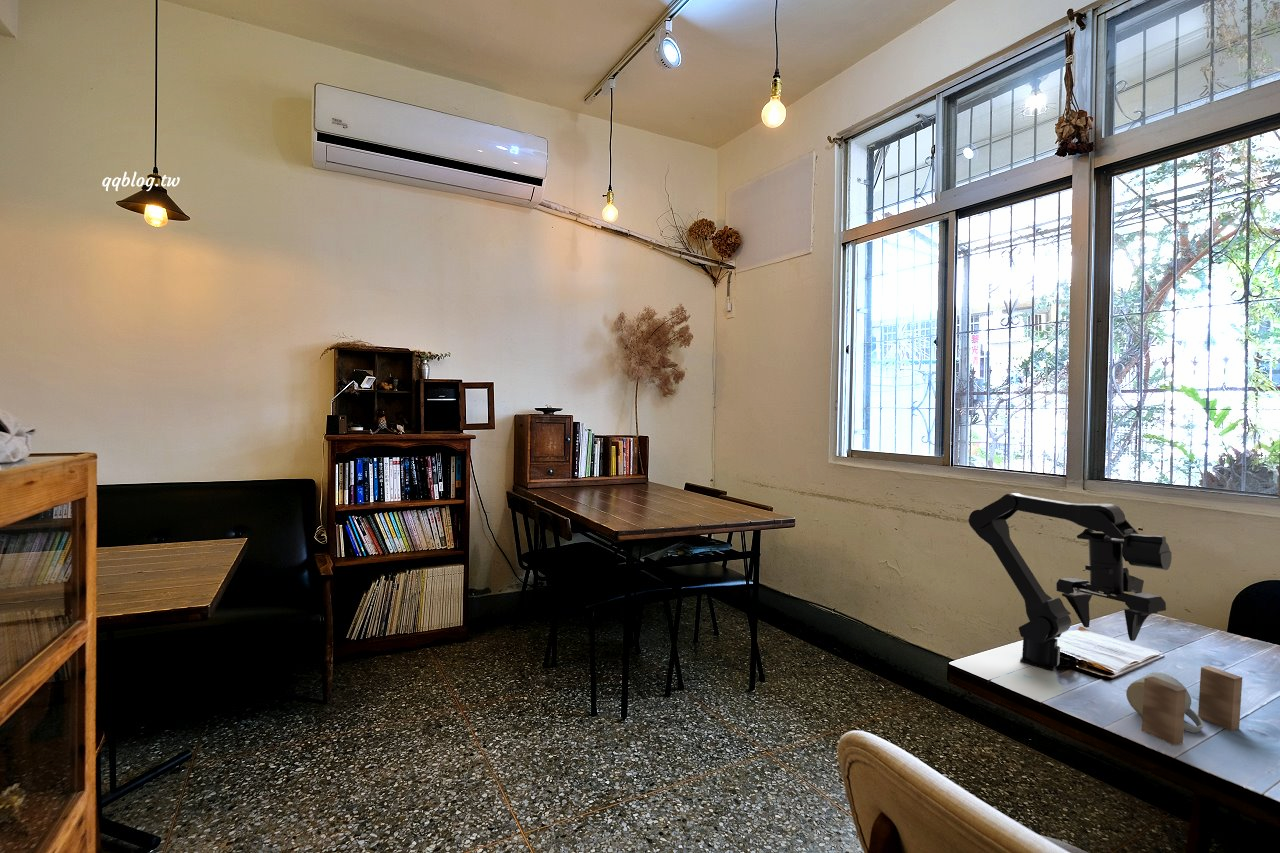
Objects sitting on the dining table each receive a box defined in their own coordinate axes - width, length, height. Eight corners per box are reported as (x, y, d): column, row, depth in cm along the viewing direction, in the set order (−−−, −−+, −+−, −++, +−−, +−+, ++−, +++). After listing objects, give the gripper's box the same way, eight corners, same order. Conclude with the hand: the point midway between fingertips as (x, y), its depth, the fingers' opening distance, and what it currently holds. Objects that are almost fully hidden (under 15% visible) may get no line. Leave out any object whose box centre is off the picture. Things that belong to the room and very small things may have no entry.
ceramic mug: (1121, 710, 113) (1124, 672, 113) (1142, 701, 117) (1145, 665, 116) (1190, 739, 103) (1194, 699, 103) (1211, 729, 107) (1214, 690, 107)
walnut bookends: (1141, 730, 106) (1144, 678, 105) (1205, 715, 112) (1208, 665, 112) (1173, 745, 101) (1177, 691, 101) (1239, 728, 107) (1242, 677, 107)
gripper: (1182, 567, 116) (1185, 643, 116) (1087, 551, 134) (1090, 617, 134) (1145, 571, 113) (1148, 650, 112) (1053, 554, 131) (1055, 622, 130)
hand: (1108, 633), depth 122 cm, fingers open, 9 cm apart
